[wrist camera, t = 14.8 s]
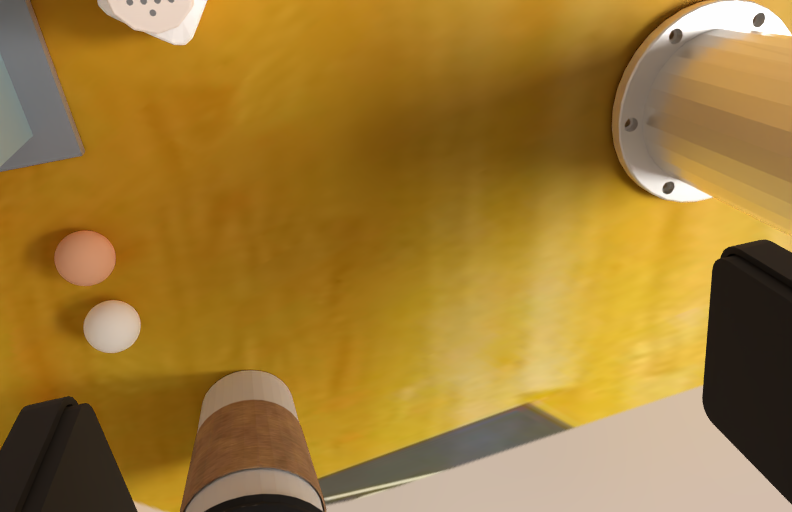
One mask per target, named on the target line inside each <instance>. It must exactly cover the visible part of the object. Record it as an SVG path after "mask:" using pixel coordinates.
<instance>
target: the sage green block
mask: <svg viewBox="0 0 792 512" xmlns="http://www.w3.org/2000/svg"><path fill="white" fill-rule="evenodd" d="M32 136H33V134H32V131H31V129H30V126H29V124H28V121H27V119H26V116H25V114H24V111H23V109H22V106H21V104H20V101H19V99H18V96H17V94H16V91H15V89H14V86H13V84H12V81H11V79H10V76H9V74H8V71H7V69H6V66H5V64H4V61H3V59H2V56H1V54H0V167H1V166H2V165H3V164H4V163H5V162H6V161H7V160H8V159H9V158H10V157H11V156H12V155H13V154H14V153H15V152H16V151H17V150H19V149H20V148H21V147H22V146H23V145H24V144H25V143H26V142H27V141H28V140H29V139H30V138H31V137H32Z"/></svg>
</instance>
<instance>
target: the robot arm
mask: <svg viewBox="0 0 792 512" xmlns="http://www.w3.org/2000/svg"><path fill="white" fill-rule="evenodd" d="M612 134H613V142H614V147H615V150H616V153H617V156H618V159H619V162H620V164H621V165H622V167H623V168H624V170H625V172H626V173H627V175H628V176H629V177H630V178H631V179H632V180H633V181H634V182H635V183H636V184H637V185H638V186H640V187H641V188H643V189H645V190H646V191H648V192H649V193H651V194H653V195H655V196H657V197H659V198H661V199H664V200H669V201H675V202H697V201H701V200H706V199H710V198H713V197H714V198H716V199H718V200H720V201H722V202H724V203H726V204H728V205H730V206H732V207H734V208H736V209H738V210H740V211H742V212H744V213H746V214H748V215H750V216H752V217H754V218H756V219H758V220H760V221H762V222H764V223H766V224H768V225H770V226H772V227H774V228H776V229H778V230H780V231H782V232H784V233H786V234H788V235H790V236H792V35H791V33H790V31H789V30H788V28H787V27H786V25H785V24H784V23H783V21H782V20H781V19H780V18H779V17H778V16H777V15H776V14H774V13H773V12H772V11H771V10H770V9H768V8H766V7H764V6H762V5H759V4H757V3H755V2H752V1H746V0H707V1H702V2H699V3H696V4H694V5H691V6H689V7H687V8H684V9H682V10H680V11H679V12H677V13H676V14H674V15H673V16H671V17H670V18H668V19H666V20H665V21H664V22H663V23H662V24H661V25H659V26H658V27H657V28H656V29H655V30H654V31H653V32H652V33H651V34H649V36H648V37H647V38H646V39H645V41H644V42H643V43H642V44H641V46H640V47H639V48H638V49H637V51H636V52H635V54H634V55H633V57H632V59H631V60H630V62H629V64H628V66H627V67H626V69H625V71H624V74H623V76H622V79H621V81H620V84H619V86H618V89H617V93H616V97H615V102H614V106H613V114H612ZM702 398H703V405H704V409H705V412H706V414H707V416H708V418H709V419H710V421H711V422H712V423H713V424H714V425H715V426H716V427H717V428H718V429H719V430H720V431H721V432H722V433H723V434H724V435H725V437H726V438H728V440H729V441H730V442H731V443H732V444H733V445H734V446H735V447H736V448H737V449H738V450H739V451H740V452H741V453H742V454H743V455H744V456H745V457H746V458H747V459H748V460H749V461H750V462H751V463H752V464H753V465H754V466H755V467H756V468H757V469H758V470H759V471H760V472H761V473H762V474H763V475H764V476H765V478H767V479H768V481H769V482H770V483H771V484H772V485H773V486H774V487H775V488H776V489H777V490H778V491H779V492H780V493H781V494H782V495H783V496H784V497H785V498H786V499H787V500H788V501H789V502H790V503H791V504H792V253H791V252H790V251H788V250H786V249H784V248H782V247H780V246H779V245H777V244H775V243H773V242H771V241H768V240H758V241H754V242H749V243H745V244H741V245H736V246H732V247H728V248H727V249H725V250H724V251H723V253H722V255H721V258H720V259H718V260H717V261H715V263H714V265H713V270H712V281H711V294H710V307H709V320H708V333H707V345H706V358H705V371H704V384H703V397H702ZM0 512H137V509H136V507H135V505H134V502H133V500H132V498H131V495H130V493H129V491H128V488H127V486H126V484H125V482H124V479H123V477H122V475H121V472H120V470H119V468H118V465H117V463H116V461H115V458H114V456H113V454H112V452H111V449H110V447H109V445H108V442H107V440H106V438H105V435H104V433H103V431H102V428H101V426H100V424H99V422H98V419H97V417H96V415H95V412H94V410H93V409H92V407H91V406H90V405H89V404H87V403H84V404H79V405H78V403H77V401H76V400H75V399H74V398H73V397H70V396H67V397H63V398H58V399H54V400H49V401H45V402H41V403H36V404H32V405H28V406H25V407H24V408H23V409H22V410H21V412H20V413H19V415H18V417H17V419H16V421H15V423H14V425H13V427H12V429H11V431H10V433H9V435H8V437H7V438H6V440H5V442H4V444H3V446H2V448H1V450H0Z"/></svg>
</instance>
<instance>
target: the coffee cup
mask: <svg viewBox="0 0 792 512" xmlns="http://www.w3.org/2000/svg"><path fill="white" fill-rule="evenodd" d="M180 512H326V506H325V502H324V498H323V495H322V491H321V488H320V485H319V482H318V479H317V476H316V472H315V469H314V466H313V463H312V460H311V457H310V453H309V450H308V447H307V444H306V441H305V438H304V434H303V431H302V428H301V425H300V424H299V420H298V416H297V413H296V409H295V405H294V402H293V398H292V395H291V393H290V391H289V389H288V387H287V386H286V385H285V384H284V382H283V381H281V380H280V379H279V378H277V377H276V376H274V375H272V374H270V373H267V372H263V371H256V370H245V371H239V372H235V373H232V374H229V375H227V376H225V377H223V378H222V379H220V380H219V381H217V382H216V383H215V384H214V385H213V386H212V387H211V388H210V389H209V391H208V392H207V393H206V395H205V398H204V400H203V403H202V409H201V414H200V420H199V426H198V431H197V435H196V439H195V443H194V448H193V453H192V457H191V462H190V467H189V472H188V476H187V481H186V486H185V490H184V495H183V500H182V505H181V509H180Z"/></svg>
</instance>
